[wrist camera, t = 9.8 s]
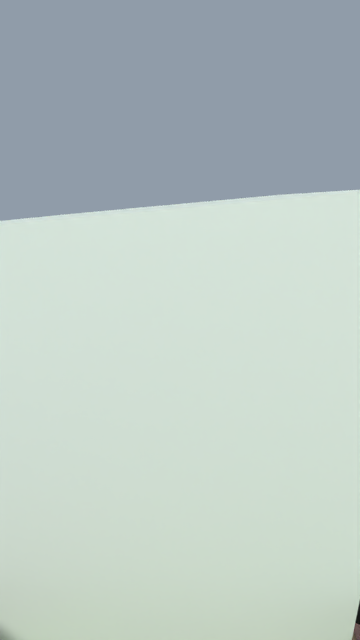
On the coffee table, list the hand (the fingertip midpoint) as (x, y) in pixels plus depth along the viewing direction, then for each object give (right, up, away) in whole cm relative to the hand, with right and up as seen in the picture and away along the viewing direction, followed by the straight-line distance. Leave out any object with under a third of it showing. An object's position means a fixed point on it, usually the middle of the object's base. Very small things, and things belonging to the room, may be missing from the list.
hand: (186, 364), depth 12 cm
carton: (0, -9, -2) cm, 9 cm away
